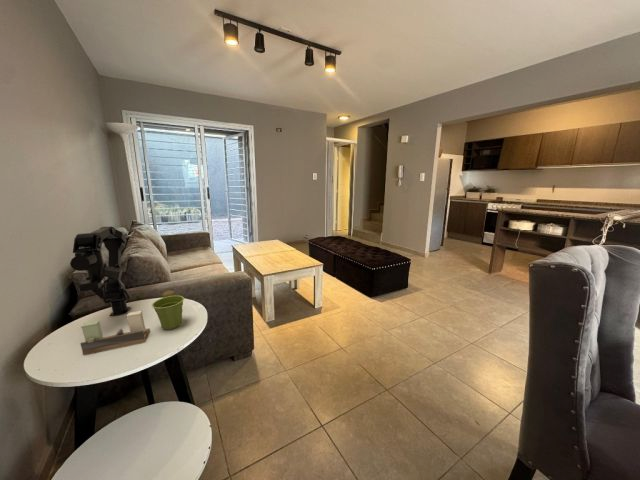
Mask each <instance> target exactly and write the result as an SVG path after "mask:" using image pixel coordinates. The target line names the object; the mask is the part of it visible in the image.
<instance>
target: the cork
mask: <svg viewBox="0 0 640 480" xmlns="http://www.w3.org/2000/svg"><path fill="white" fill-rule="evenodd" d="M168 296H177V295H176V291H174V290H166V291H164V292H163V293H162V298H164V297H168Z"/></svg>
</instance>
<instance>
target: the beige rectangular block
mask: <svg viewBox="0 0 640 480" xmlns="http://www.w3.org/2000/svg"><path fill="white" fill-rule="evenodd" d="M127 313H128V314H127V315H126V318H127V323H128V326H129V330H130V331H129V332H131V333H133V332H138V331H144V332H145V329H146V326H145V321H144V316H143V310H138V311H132V312H127Z"/></svg>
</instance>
